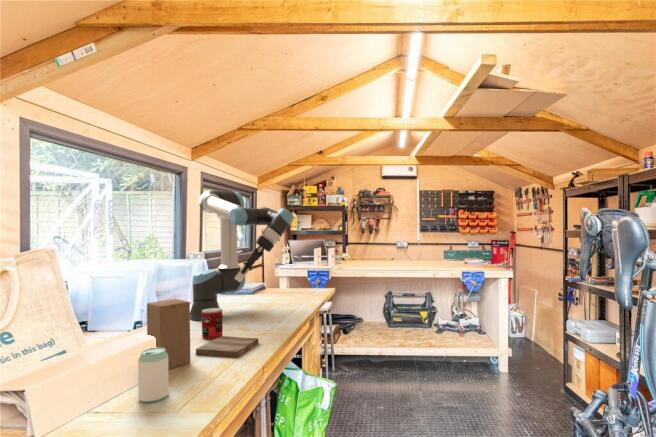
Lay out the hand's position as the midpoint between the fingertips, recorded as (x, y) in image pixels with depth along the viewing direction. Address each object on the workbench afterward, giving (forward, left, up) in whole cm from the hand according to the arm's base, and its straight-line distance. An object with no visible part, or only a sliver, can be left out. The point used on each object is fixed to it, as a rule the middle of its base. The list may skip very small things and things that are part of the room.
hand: (237, 280), depth 156 cm
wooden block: (+37, -4, -22) cm, 44 cm away
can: (+59, +9, -22) cm, 64 cm away
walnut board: (+19, +7, -22) cm, 30 cm away
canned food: (+6, -8, -22) cm, 25 cm away
